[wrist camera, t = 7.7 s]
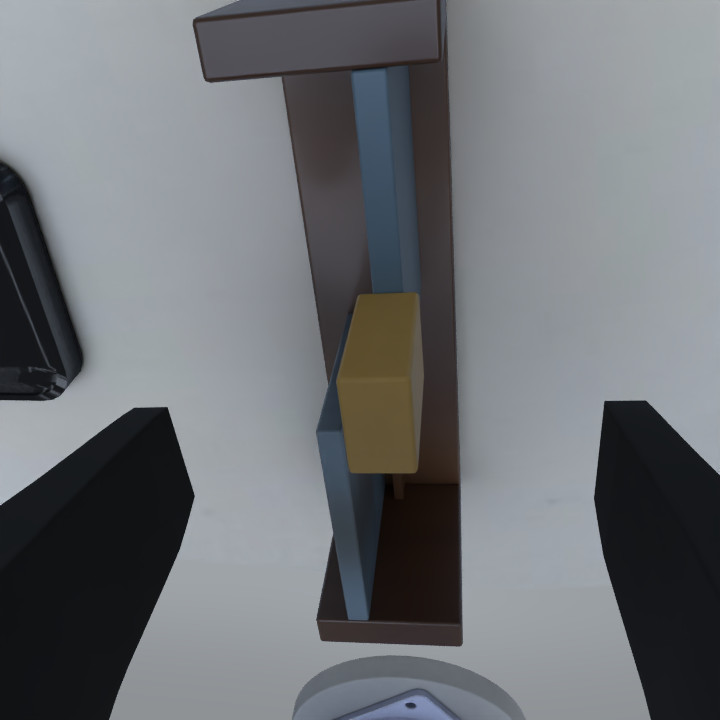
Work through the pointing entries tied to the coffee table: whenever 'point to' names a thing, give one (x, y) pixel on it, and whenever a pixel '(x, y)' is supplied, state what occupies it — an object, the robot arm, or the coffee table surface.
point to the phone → (30, 306)
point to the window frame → (353, 277)
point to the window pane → (385, 287)
